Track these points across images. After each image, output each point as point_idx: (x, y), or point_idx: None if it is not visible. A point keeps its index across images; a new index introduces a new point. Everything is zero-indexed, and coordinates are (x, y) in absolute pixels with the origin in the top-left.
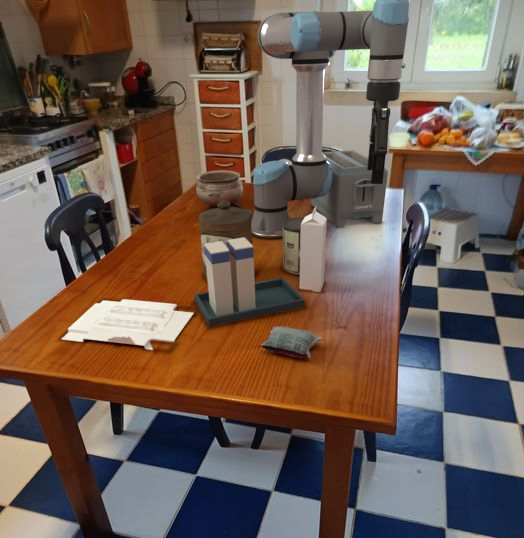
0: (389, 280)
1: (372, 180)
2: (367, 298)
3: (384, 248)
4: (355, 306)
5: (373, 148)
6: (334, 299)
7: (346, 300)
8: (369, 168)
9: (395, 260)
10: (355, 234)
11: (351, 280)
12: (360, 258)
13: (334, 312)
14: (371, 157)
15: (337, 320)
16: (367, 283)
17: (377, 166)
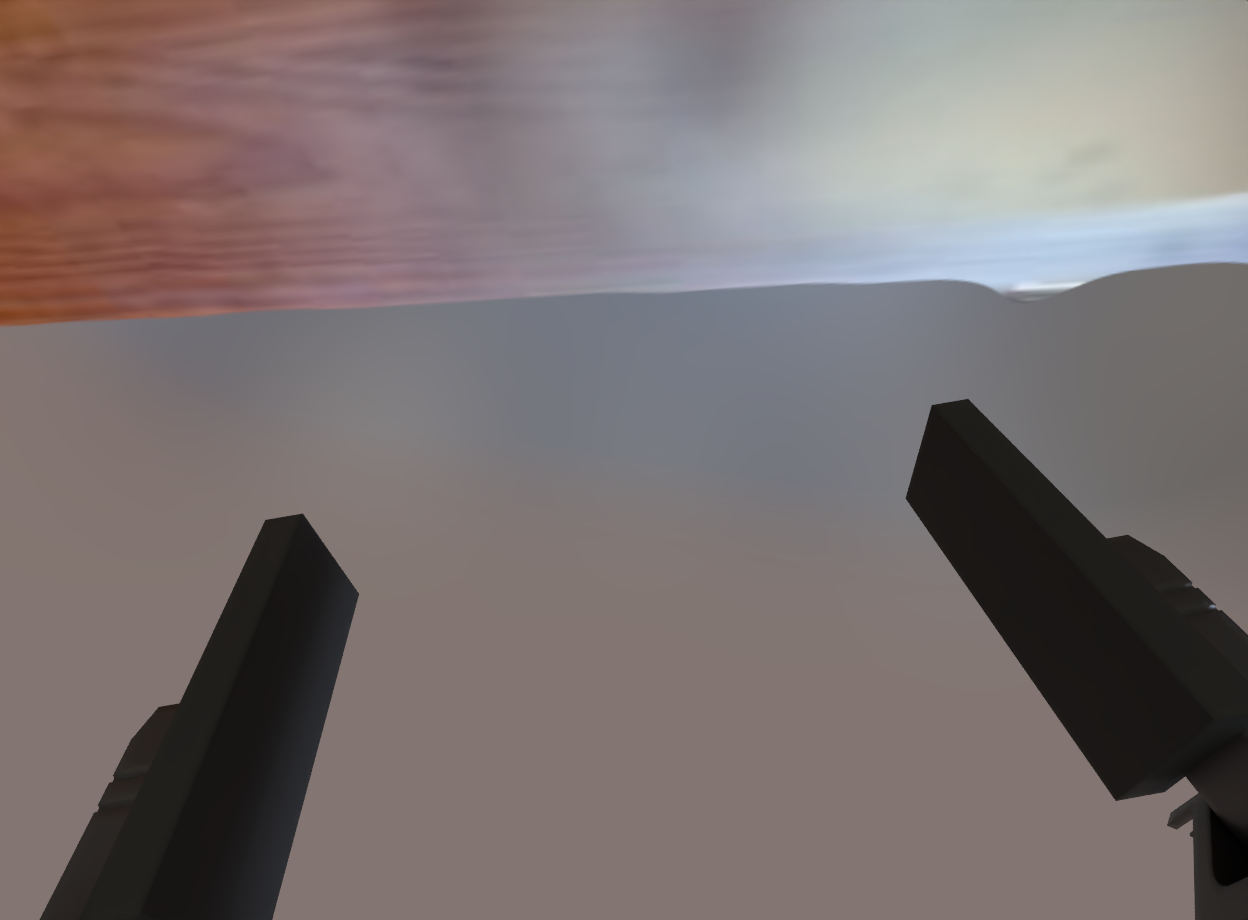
0: (596, 272)
1: (255, 559)
2: (385, 192)
3: (945, 225)
4: (277, 142)
5: (1103, 675)
6: (293, 10)
7: (316, 86)
8: (938, 435)
9: (804, 282)
10: (1188, 40)
11: (555, 87)
12: (835, 110)
13: (147, 31)
14: (1017, 546)
15: (75, 61)
16: (541, 177)
17: (132, 774)
